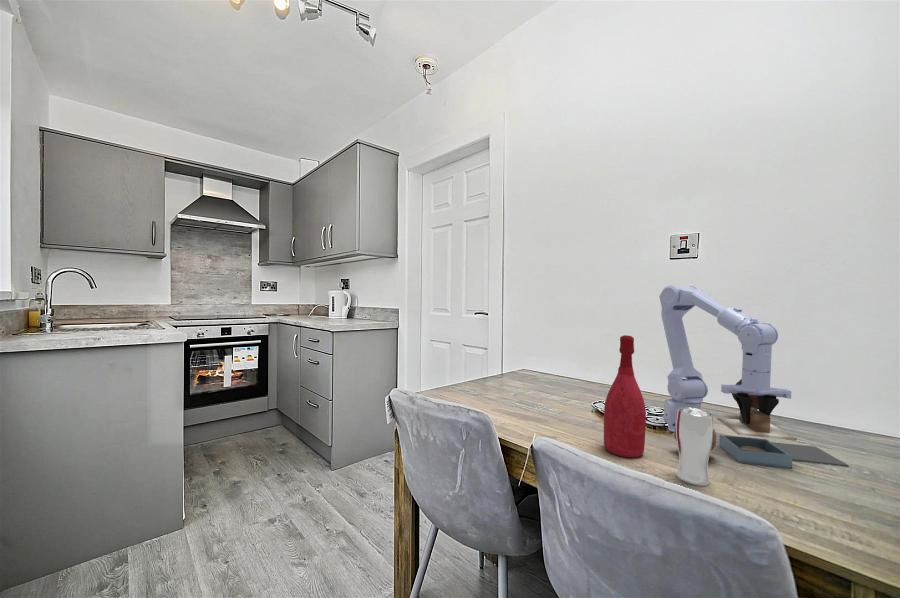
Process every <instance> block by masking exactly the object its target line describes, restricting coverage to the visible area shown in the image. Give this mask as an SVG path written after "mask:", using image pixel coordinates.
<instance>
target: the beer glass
mask: <svg viewBox="0 0 900 598" xmlns="http://www.w3.org/2000/svg"><path fill="white" fill-rule="evenodd" d="M713 414H714V413H712V412H710V411H708V410H705V409H702V408H701V409H697V408H689V407H682V408H678V413H677V421H676V438H677V441H676V442H677V443H676V444H677V451H678V459H679V461H678V467H677V471H676V477H677V478H678V479H679V480H680V481H682V482H684V483H686V484H689V485H692V486H698V487H704V486H705V487H706V486H709V484H710V478H709V477H710V476H709V471H708V467H709V458H710V456H711V452H712V451H711V448H712V443H713V428H714V417H713V416H714V415H713Z"/></svg>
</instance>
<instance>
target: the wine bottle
mask: <svg viewBox="0 0 900 598" xmlns="http://www.w3.org/2000/svg"><path fill="white" fill-rule="evenodd" d="M619 341H620V342H619V350H618V351H619V353H620V362H619V367H618V369H617V374H616V377H615V378H614V381H613V382H612V384H611V386H610V388H609V390H608V392H607V394H606V398H605V401H604V407H603V446H604V448H605V450H607V451H608V452H609V453H611V454H614V455H616V456H618V457H624V458H639V457H641V456H642V455H643V454H644V452H645V443H646V424H647V411H646V410H647V409H646V404H645V401H644V396H643V394H642V391H641V389H640V386H639V384H638V381H637V379H636V377H635V372H634V367H633V356H632V355H633V354H634V353H635V339H634V337H633V336H632V335H627V334H626V335H621V336H620V338H619Z"/></svg>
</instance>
